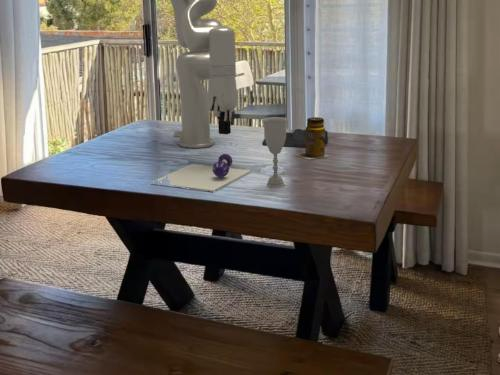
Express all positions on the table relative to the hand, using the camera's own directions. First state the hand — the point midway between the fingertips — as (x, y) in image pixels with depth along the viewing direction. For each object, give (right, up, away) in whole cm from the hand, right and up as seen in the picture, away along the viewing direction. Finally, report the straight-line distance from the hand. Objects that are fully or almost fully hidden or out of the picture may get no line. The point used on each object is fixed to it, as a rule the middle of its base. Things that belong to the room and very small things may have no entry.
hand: (224, 133), depth 199 cm
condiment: (+27, -6, +15) cm, 32 cm away
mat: (-6, -13, -9) cm, 17 cm away
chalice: (+14, -16, -17) cm, 27 cm away
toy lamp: (0, -8, +2) cm, 9 cm away
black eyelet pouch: (+23, -1, +34) cm, 41 cm away
